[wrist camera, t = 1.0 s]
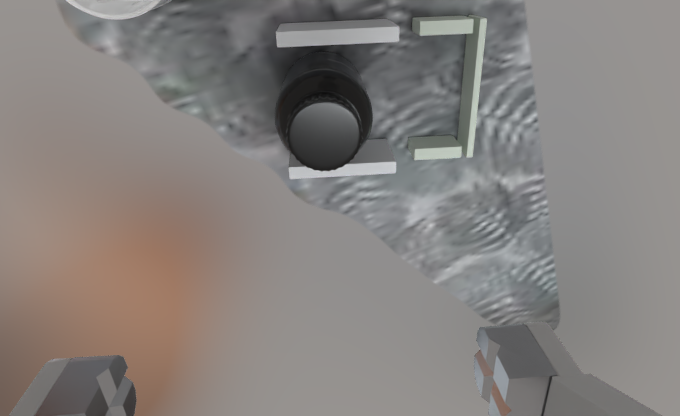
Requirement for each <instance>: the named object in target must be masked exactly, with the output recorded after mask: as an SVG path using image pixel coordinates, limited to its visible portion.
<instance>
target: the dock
mask: <svg viewBox="0 0 680 416" xmlns="http://www.w3.org/2000/svg"><path fill="white" fill-rule="evenodd" d="M486 24H487V18H484V17H480V16H477V15H468V17H466V16H462V15H460V16H437V17H415V18H412V31H413V32H414V33H416V34H418V35H419V36H427V35H448V34H467V35H466V46H465V57H464V69H463V80H462V92H461V103H460V114H459V126H458V137H457V140H456V139H455V138H454V137H453V135H445V136H426V137H408V149H409V151H410V153H411V155H412V157H413V158H414V160H427V159H445V158H461V151H462V152H463V153H464V155H465V156H466V157H473V147H474V138H475V128H476V119H477V109H478V100H479V90H480V81H481V72H482V62H483V53H484V43H485V34H486Z"/></svg>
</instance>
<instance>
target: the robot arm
mask: <svg viewBox="0 0 680 416" xmlns="http://www.w3.org/2000/svg"><path fill="white" fill-rule="evenodd" d="M476 341H477V343H478V345H479V347H480V350H479V351H478V352H477V353H476V354H475V358H474V372H475V379H476V383H477V387H478V389H479V392H480V395H481V397H482V398H484V399H485V400H486V401H488V402H489V403H490V404H489V412H488V414H489V416H662V415H660V414H658V413H657V412H655V411H653V410H651V409H650V408H648V407H646V406H645V405H643V404H641V403H639V402H637V401H636V400H634V399H633V398H631V397H629V396H628V395H626V394H624V393H622V392H621V391H619V390H617V389H616V388H614V387H612V386H610V385H609V384H607V383H605V382H604V381H602V380H600V379H598V378H597V377H595V376H593V375H592V374H583V372H582V371H581V370H580V368H579V367H578V365H577V364H576V363H575V361H574V360H573V358H572V357H571V355H570V354H569V353H568V351H567V350H566V348H565V347H564V346H563V344H562V343H561V341H560V340H559V339H558V337H557V336H556V334H555V333H554V331H553V330H552V328H551V327H550V326H549V324H548V323H546V322H544V321H542V322H531V323H523V324H512V325H500V326H489V327H480V328H479V330H478V332H477V340H476ZM127 368H128V367H127V364H126V362H125V360H124V357H122V356H119V355H113V356H94V357H77V358H76V357H75V358H69V359H52V360H50V361H49V362H47V363H46V364H45V365H44V366H43V368H42V369H41V370H40V372H39V373H38V375H37V376H36V378H35V379H34V381H33V382H32V383H31V385H30V386H29V388H28V389H27V391H26V392H25V394H24V395H23V396H22V398H21V399H20V401H19V402H18V403H17V405H16V406H15V408H14V409H13V411H12V412H11V413H10V415H9V416H134V414H135V407H136V390H135V387H134V384H133V382H132V381H130V380H129V379H128V378H127V377H125V376H124V375H125V373H126V370H127Z"/></svg>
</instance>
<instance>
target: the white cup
mask: <svg viewBox="0 0 680 416" xmlns="http://www.w3.org/2000/svg"><path fill="white" fill-rule="evenodd" d="M66 1H67V2H68V3H70V4H71V5H73V6H74V7H76V8H78V9H80V10H81V11H84V12H86V13H88V14H91V15H93V16H96V17H100V18H105V19H113V20H121V19H129V18H133V17H137V16H140V15H142V14H144V13H146V12H149V11H151V10H153V9H156V8H158V7H160V6H163V5H165V4H166V3H168V2H170V1H172V0H66Z"/></svg>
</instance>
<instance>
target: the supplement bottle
mask: <svg viewBox="0 0 680 416" xmlns="http://www.w3.org/2000/svg"><path fill="white" fill-rule="evenodd" d="M372 121H373V114H372V107H371V103H370V99H369V97H368V94H367V92H366V89H365V87H364V84H363V82H362V79H361V77H360V75H359V73H358V71H357V70H356V68H355V67H354V66H353V65H352V64H351V63H350V62H349V61H348V60H347V59H345V58H344V57H342V56H340V55H338V54H335V53H332V52H324V51H322V52H314V53H310V54H308V55H305V56H303V57H302V58H300V59H299V60H298V61H296V62H295V63H294V64H293V65H292V67H291V68H290V69H289V71H288V73H287V74H286V77H285V79H284V82H283V85H282V88H281V91H280V94H279V97H278V100H277V103H276V108H275V125H276V129H277V133H278V135H279V137H280V139H281V141H282V143H283V144H284V146H285V147H286V148H287V149H288V150H289V151H290V152H291V153H292V154H293V155H294V156H295V158H296V160H298V161H300V163H301V164H302V165H305V166H306V167H307V168H312V169H313V170H319V171H321V172H322V171H331V170H336V169H338V168H341V167H343V166H344V165H345V164H348V163H349V162H350V160H352V159H354V156H355V155H356V154H357V153H358V151H359V150H360V149H361V148H362V147H363V145H364V144H365V142H366V141H367V139H368V137H369V134H370V131H371V128H372Z"/></svg>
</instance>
